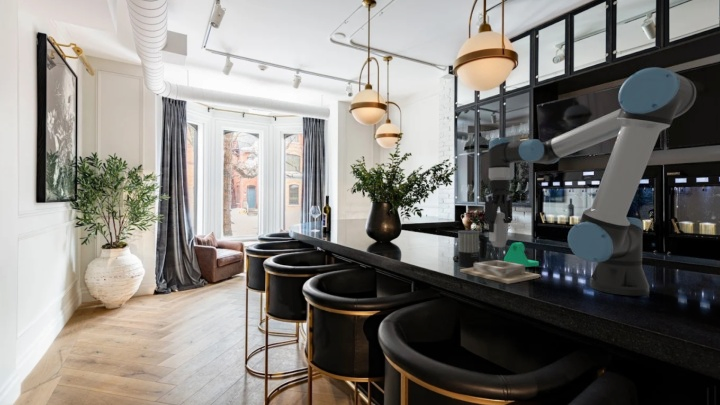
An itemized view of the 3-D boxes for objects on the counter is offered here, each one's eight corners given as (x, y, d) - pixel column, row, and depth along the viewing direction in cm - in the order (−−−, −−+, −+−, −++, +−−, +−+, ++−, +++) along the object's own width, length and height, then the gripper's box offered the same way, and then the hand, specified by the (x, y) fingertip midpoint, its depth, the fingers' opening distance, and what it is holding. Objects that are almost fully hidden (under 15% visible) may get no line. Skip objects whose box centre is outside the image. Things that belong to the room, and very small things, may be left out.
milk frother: (472, 268, 146) (472, 232, 146) (440, 263, 158) (440, 230, 158) (489, 264, 155) (490, 230, 155) (459, 259, 167) (459, 228, 167)
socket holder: (540, 277, 130) (540, 266, 129) (508, 283, 120) (508, 272, 120) (490, 267, 148) (491, 257, 148) (460, 272, 139) (460, 261, 139)
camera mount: (539, 268, 147) (539, 243, 147) (526, 269, 144) (526, 244, 144) (516, 263, 158) (516, 240, 158) (503, 264, 155) (503, 241, 155)
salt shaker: (498, 247, 131) (499, 212, 130) (486, 245, 136) (487, 212, 135) (509, 246, 133) (510, 212, 133) (497, 244, 138) (498, 211, 138)
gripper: (506, 180, 142) (506, 237, 142) (473, 179, 132) (473, 241, 133) (523, 179, 135) (522, 239, 136) (490, 178, 126) (489, 243, 126)
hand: (498, 240), depth 134 cm, fingers closed on salt shaker, 6 cm apart
